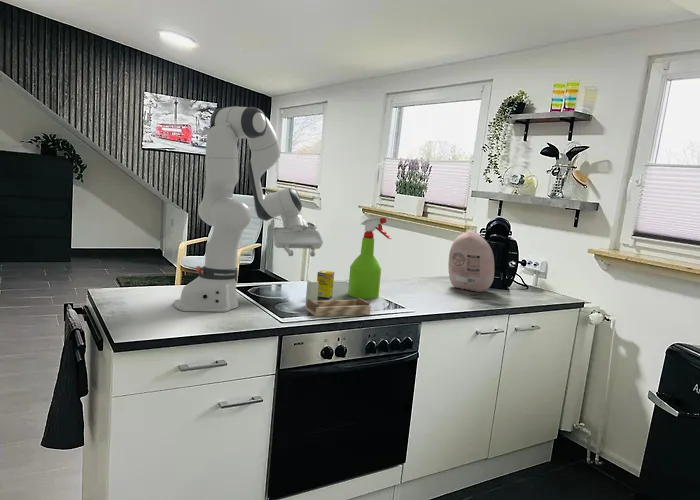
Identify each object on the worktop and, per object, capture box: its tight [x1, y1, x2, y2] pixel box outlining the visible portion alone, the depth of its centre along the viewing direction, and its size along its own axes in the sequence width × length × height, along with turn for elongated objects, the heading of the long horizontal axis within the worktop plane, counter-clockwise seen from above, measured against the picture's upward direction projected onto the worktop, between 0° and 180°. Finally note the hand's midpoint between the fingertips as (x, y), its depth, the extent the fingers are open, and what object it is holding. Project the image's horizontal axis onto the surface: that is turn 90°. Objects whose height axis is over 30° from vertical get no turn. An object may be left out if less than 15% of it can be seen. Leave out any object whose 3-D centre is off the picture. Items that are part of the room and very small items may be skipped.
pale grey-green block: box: [305, 279, 319, 307], centre depth 199 cm, size 3×4×10 cm
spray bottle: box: [347, 216, 393, 300], centre depth 225 cm, size 14×18×35 cm
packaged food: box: [447, 231, 496, 293], centre depth 261 cm, size 22×20×30 cm
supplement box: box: [316, 269, 335, 300], centre depth 216 cm, size 6×6×11 cm
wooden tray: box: [305, 298, 371, 317], centre depth 194 cm, size 22×10×4 cm, turn 118°
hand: (302, 255), depth 208 cm, fingers open, 8 cm apart
